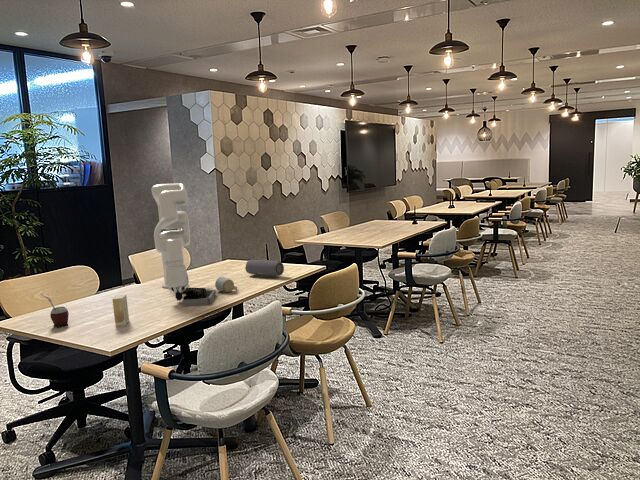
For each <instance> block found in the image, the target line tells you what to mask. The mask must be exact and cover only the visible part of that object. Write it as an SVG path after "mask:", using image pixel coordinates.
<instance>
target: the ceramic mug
mask: <svg viewBox="0 0 640 480" xmlns="http://www.w3.org/2000/svg"><path fill="white" fill-rule="evenodd" d="M214 286H215V290H217V291H219V292H223V293H230V292H232V291H234V290H238V286H237V285H235V282H234V281H233V280H232V279H230V278H228V277H225V276H218V277H217V279H216V280H215V283H214Z"/></svg>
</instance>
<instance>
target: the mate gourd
mask: <svg viewBox="0 0 640 480" xmlns="http://www.w3.org/2000/svg"><path fill="white" fill-rule="evenodd" d="M43 298H45V299H47V300H48V302H49V303H50V304H51V306H52V309H51V311H50V320H51V322H52V323H53V327H56V329H59V328H61V327H68V326H69V324H68V323H69V315H70V314H69V310H68V309H67V308H66V306H56V307H55V306H54V304H53V302H52V299H51V298H49V297H48V296H45V295H43Z"/></svg>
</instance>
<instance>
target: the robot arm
mask: <svg viewBox="0 0 640 480" xmlns="http://www.w3.org/2000/svg"><path fill="white" fill-rule="evenodd" d="M151 194H152V197H153V199H154V201H155V203H156V205H157V211H158V220H159V221H158V223H157V224H156V226H155V228H154V231H153V232H154V233H153V240H154V247H155V250H156V251H157V253H160V254H161V261H162V272H163V280H164V283H162V284H161V287H162V288H165V289H167V290H172V291H173V293H175V299H176V301H179V302H180V301H182V300H183V297H184V296H183V294H182V292H183V291H185V290H186V288H190V285H189V284H190V283H189V275H188V270H187V267H186V265H185V264H184V263H185V262H184V252H183V250H184V248H185V247H187V246H190V244H191V231H190V230H191V229H190V218H189V215H188V213H187V212H186V211H185V210H184V211H183V210H179V211H178V207H182V206H187V204H188V200H189V199H188V192H187V190H186V187H185V185H184V183H181V182H180V183H179V182H178V183H176V182H175V183H174V182H173V183H159V184H155V185H153V186H152V187H151ZM173 229H175V230H173ZM162 230H165V231H162ZM178 288H179V289H178Z"/></svg>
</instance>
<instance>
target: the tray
mask: <svg viewBox="0 0 640 480" xmlns="http://www.w3.org/2000/svg"><path fill="white" fill-rule="evenodd" d="M206 290H207V297H208V298H207V297H206V298H203V299H188V300H183V299H181V301H182V307H193V306H194V307H195V306H196V307H197V306H207V305H212V302H213V301H214V299H215V297H216V296H217V293H216V289H211V290H210V289H209V290H208V289H206Z"/></svg>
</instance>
